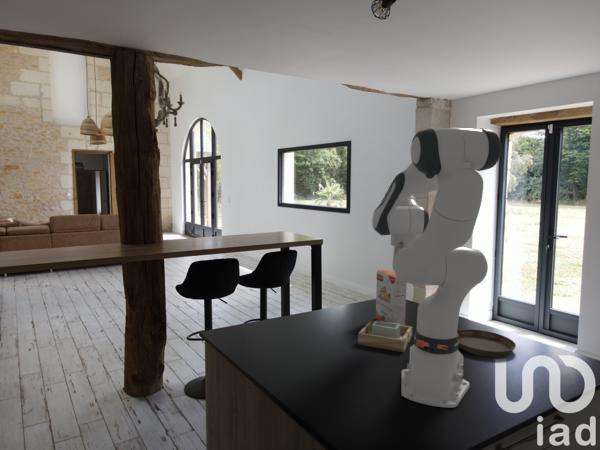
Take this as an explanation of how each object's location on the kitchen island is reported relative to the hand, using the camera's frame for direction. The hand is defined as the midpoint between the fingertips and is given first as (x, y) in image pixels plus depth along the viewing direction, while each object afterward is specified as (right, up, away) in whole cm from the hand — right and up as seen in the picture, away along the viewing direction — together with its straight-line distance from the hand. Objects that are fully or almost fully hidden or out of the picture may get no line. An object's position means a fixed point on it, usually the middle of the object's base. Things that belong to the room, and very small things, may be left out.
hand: (402, 278), depth 152 cm
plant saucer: (+27, -24, -5) cm, 36 cm away
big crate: (-6, -22, 0) cm, 23 cm away
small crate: (-6, -21, 0) cm, 22 cm away
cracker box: (0, -21, +19) cm, 29 cm away
